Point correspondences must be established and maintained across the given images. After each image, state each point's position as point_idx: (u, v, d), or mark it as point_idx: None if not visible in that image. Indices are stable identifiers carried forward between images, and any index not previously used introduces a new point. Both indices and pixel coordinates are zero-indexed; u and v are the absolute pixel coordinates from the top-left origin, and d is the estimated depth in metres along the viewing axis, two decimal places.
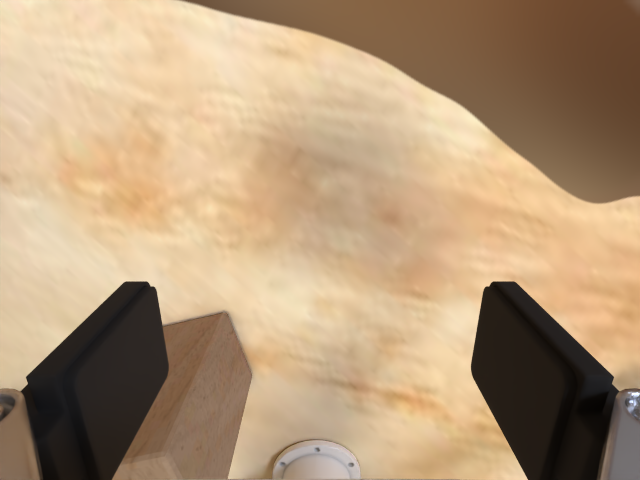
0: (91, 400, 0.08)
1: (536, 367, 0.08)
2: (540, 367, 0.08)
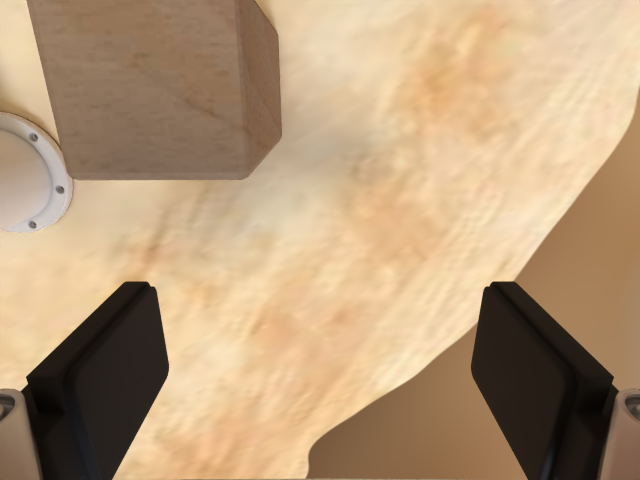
0: (91, 400, 0.08)
1: (536, 367, 0.08)
2: (540, 367, 0.08)
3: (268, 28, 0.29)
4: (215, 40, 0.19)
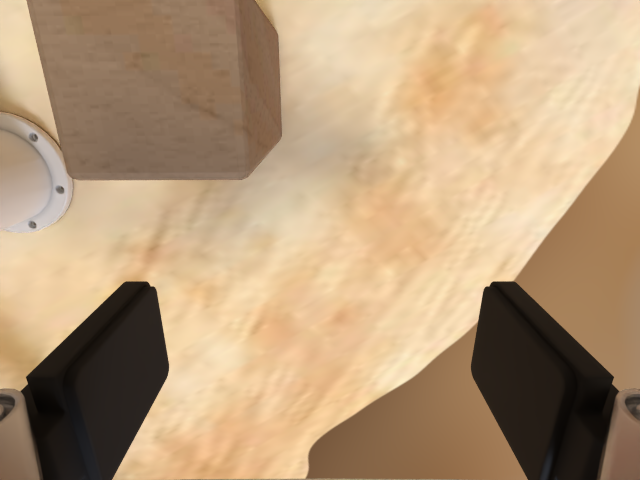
0: (91, 400, 0.08)
1: (536, 367, 0.08)
2: (540, 367, 0.08)
3: (268, 28, 0.29)
4: (215, 40, 0.19)
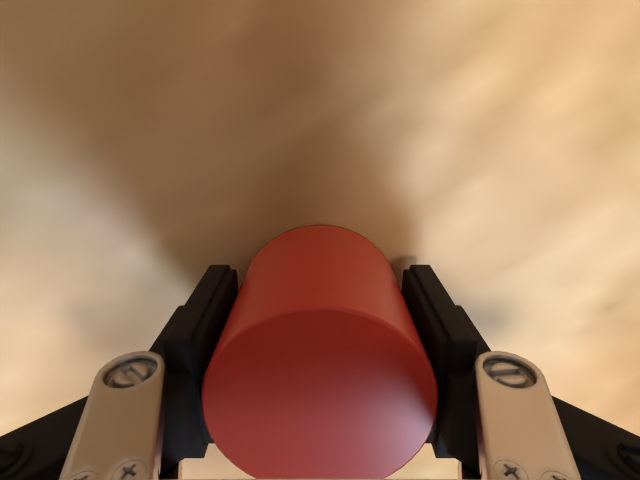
0: (208, 364, 0.09)
1: (427, 337, 0.09)
2: (428, 336, 0.09)
3: None
4: None
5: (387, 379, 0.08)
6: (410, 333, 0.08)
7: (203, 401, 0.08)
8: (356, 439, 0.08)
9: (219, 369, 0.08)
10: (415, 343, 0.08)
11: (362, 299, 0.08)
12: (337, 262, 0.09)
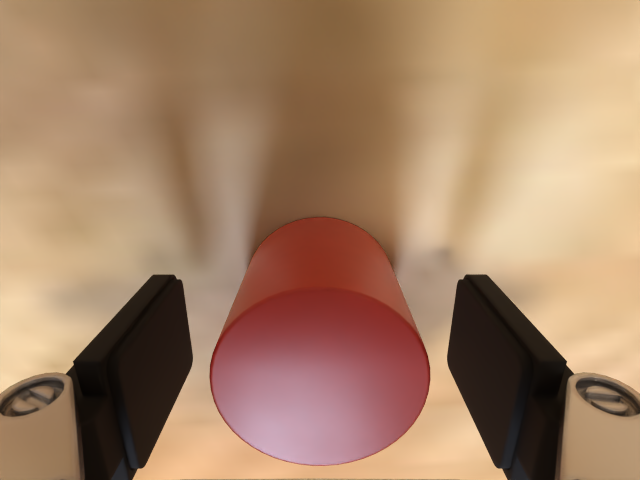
0: (130, 384, 0.08)
1: (499, 354, 0.08)
2: (502, 354, 0.08)
3: None
4: None
5: (382, 356, 0.08)
6: (404, 313, 0.08)
7: (211, 378, 0.09)
8: (354, 413, 0.09)
9: (227, 346, 0.08)
10: (408, 322, 0.08)
11: (360, 282, 0.08)
12: (336, 250, 0.10)
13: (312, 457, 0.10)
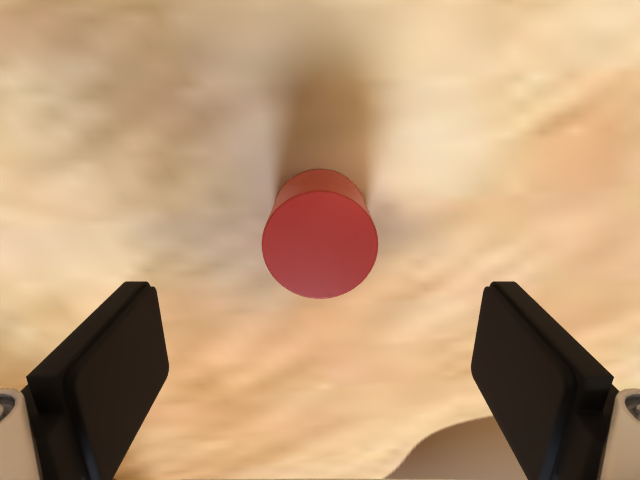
0: (91, 400, 0.08)
1: (536, 367, 0.08)
2: (540, 367, 0.08)
3: None
4: None
5: (352, 229, 0.16)
6: (363, 207, 0.16)
7: (263, 242, 0.17)
8: (338, 264, 0.17)
9: (272, 224, 0.16)
10: (365, 210, 0.16)
11: (340, 191, 0.16)
12: (329, 180, 0.18)
13: (315, 292, 0.17)
